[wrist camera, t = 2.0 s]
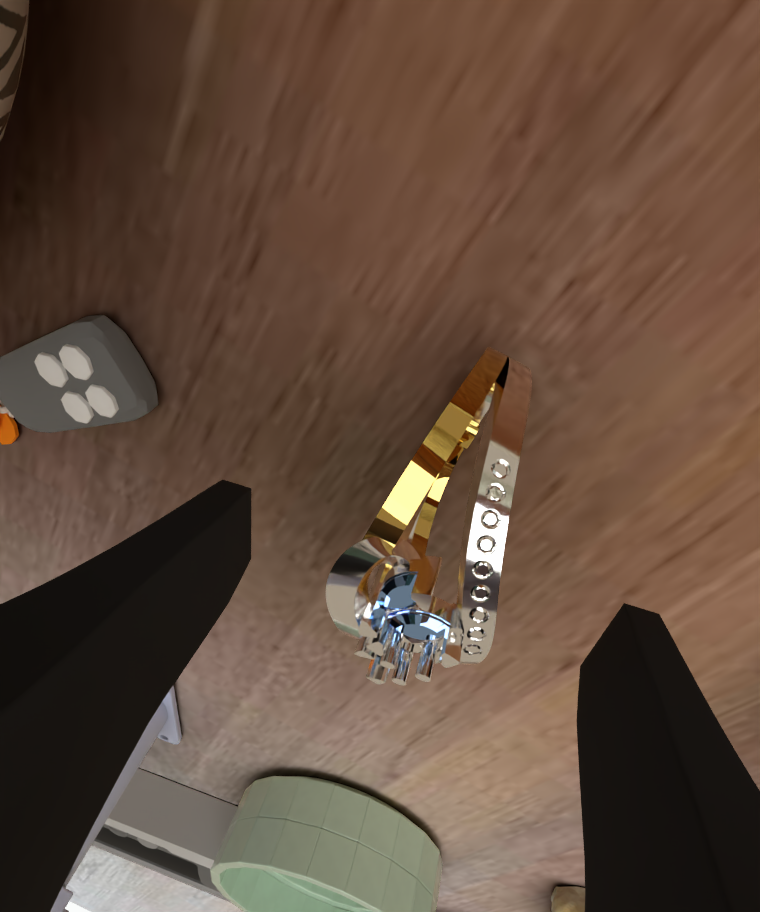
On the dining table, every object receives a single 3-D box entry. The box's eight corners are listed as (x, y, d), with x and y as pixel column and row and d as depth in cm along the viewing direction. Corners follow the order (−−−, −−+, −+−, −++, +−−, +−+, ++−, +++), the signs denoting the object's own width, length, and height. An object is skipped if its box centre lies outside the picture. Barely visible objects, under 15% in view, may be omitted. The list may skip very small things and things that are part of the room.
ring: (459, 517, 17) (404, 763, 11) (371, 474, 17) (266, 698, 11) (583, 338, 13) (610, 575, 7) (468, 281, 13) (387, 466, 7)
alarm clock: (227, 865, 35) (224, 947, 44) (258, 793, 39) (249, 881, 48) (1, 775, 37) (41, 869, 46) (52, 715, 41) (80, 813, 50)
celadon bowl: (248, 823, 39) (214, 906, 35) (249, 742, 31) (205, 837, 27) (420, 890, 38) (404, 984, 34) (466, 822, 30) (452, 935, 26)
